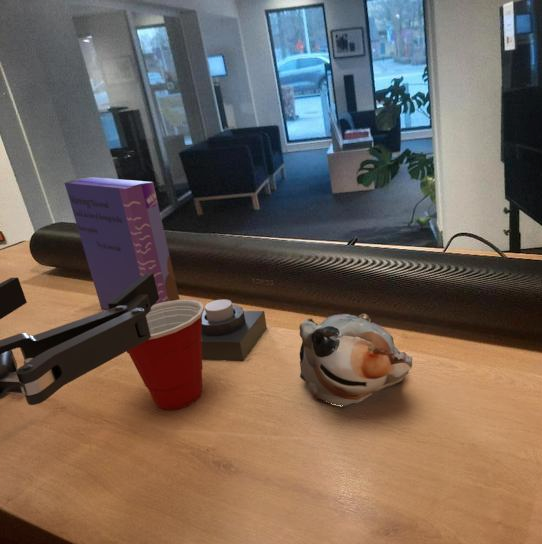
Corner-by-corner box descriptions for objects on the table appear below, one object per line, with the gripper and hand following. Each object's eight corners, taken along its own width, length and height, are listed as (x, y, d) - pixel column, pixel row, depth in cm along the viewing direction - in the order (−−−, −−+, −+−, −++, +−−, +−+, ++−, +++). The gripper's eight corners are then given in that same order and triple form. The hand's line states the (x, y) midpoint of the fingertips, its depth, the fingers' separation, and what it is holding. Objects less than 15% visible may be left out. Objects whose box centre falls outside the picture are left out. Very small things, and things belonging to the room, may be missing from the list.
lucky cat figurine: (419, 362, 68) (435, 302, 58) (387, 440, 61) (399, 388, 50) (321, 323, 71) (319, 260, 61) (280, 393, 64) (270, 335, 54)
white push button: (202, 322, 74) (200, 310, 73) (214, 310, 78) (211, 299, 77) (227, 323, 73) (225, 310, 73) (238, 311, 77) (236, 299, 76)
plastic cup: (179, 366, 71) (161, 291, 67) (237, 383, 67) (222, 302, 62) (114, 410, 63) (89, 327, 58) (176, 433, 58) (153, 343, 53)
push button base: (167, 358, 74) (160, 329, 72) (199, 326, 83) (193, 299, 81) (243, 361, 72) (237, 331, 70) (267, 328, 81) (262, 300, 79)
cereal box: (183, 315, 87) (152, 180, 78) (160, 327, 84) (125, 187, 75) (124, 298, 96) (91, 175, 87) (101, 308, 93) (64, 181, 84)
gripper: (-292, 489, 31) (-22, 325, 50) (90, 493, 28) (217, 320, 48) (-367, 388, 28) (-49, 256, 47) (51, 384, 26) (203, 247, 45)
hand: (85, 288), depth 48 cm, fingers open, 13 cm apart
